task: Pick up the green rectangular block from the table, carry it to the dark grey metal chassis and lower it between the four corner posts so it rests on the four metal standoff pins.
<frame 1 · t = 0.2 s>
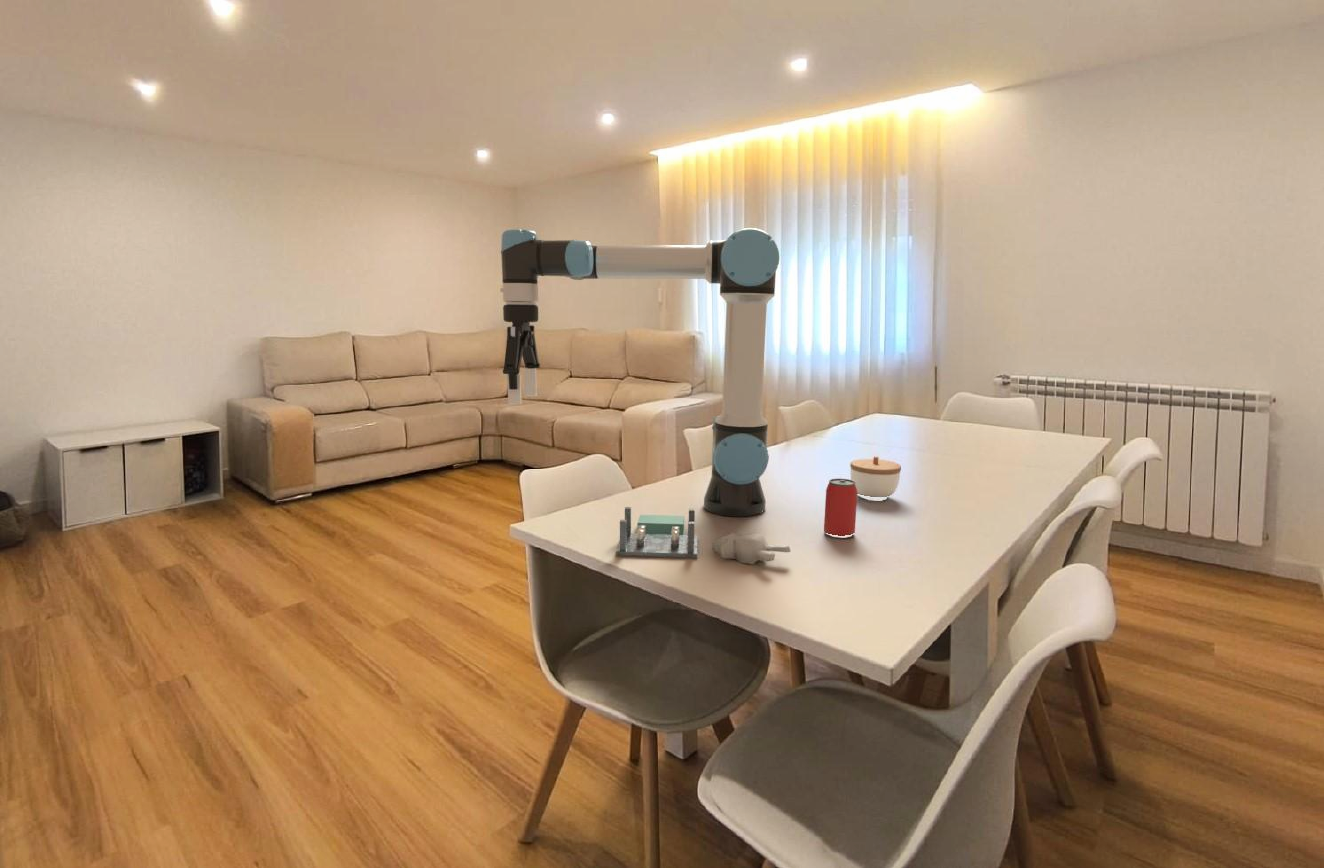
hand: (523, 400, 152), 28 cm above the table, tool pointing down, fingers open, 13 cm apart
green rectangular block: (661, 532, 150), on the table
bunny figurine: (747, 561, 133), on the table
beer can: (838, 535, 149), on the table
chassis: (658, 547, 139), on the table
lidded bowl: (873, 498, 178), on the table
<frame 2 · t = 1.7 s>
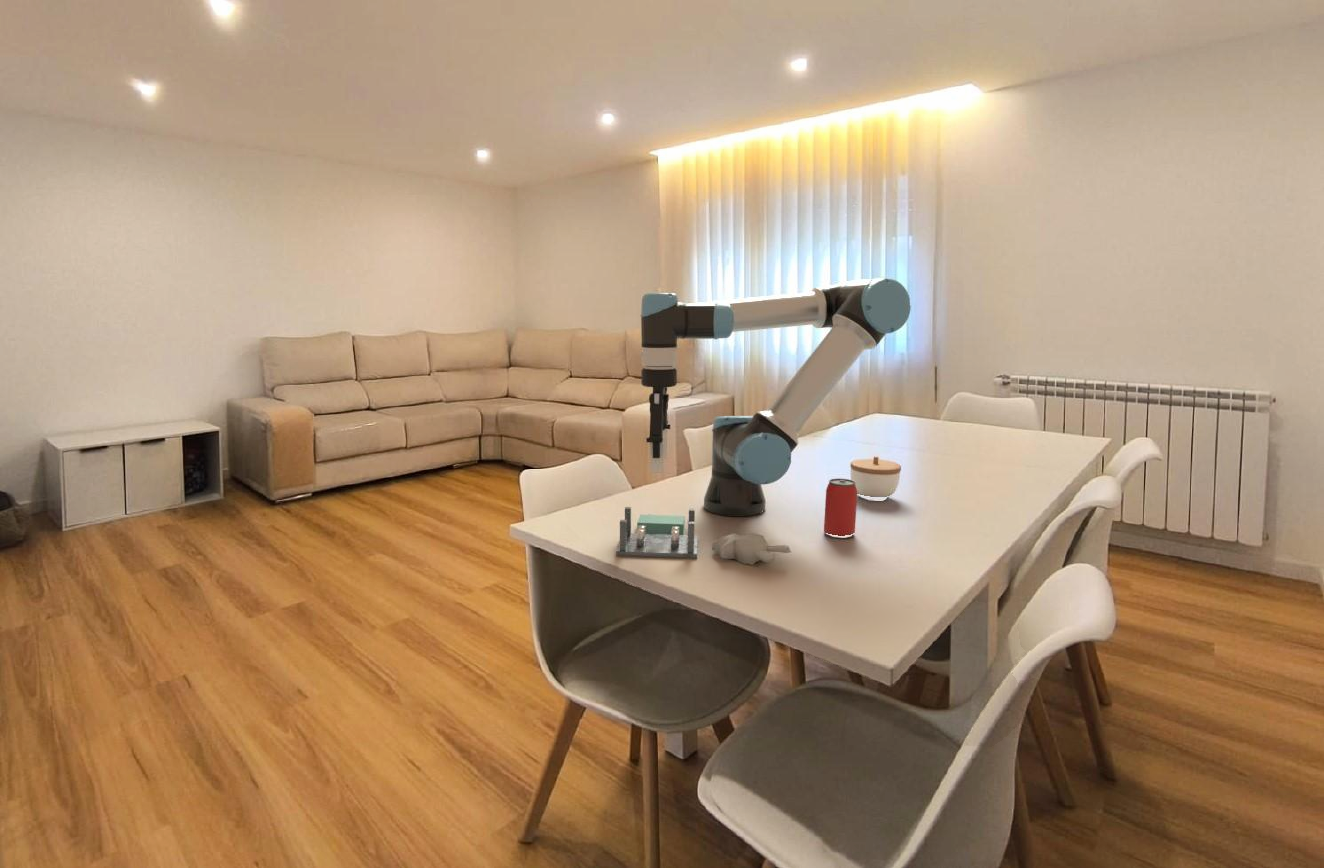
hand: (659, 465, 147), 15 cm above the table, tool pointing down, fingers open, 13 cm apart
nothing on the table moved.
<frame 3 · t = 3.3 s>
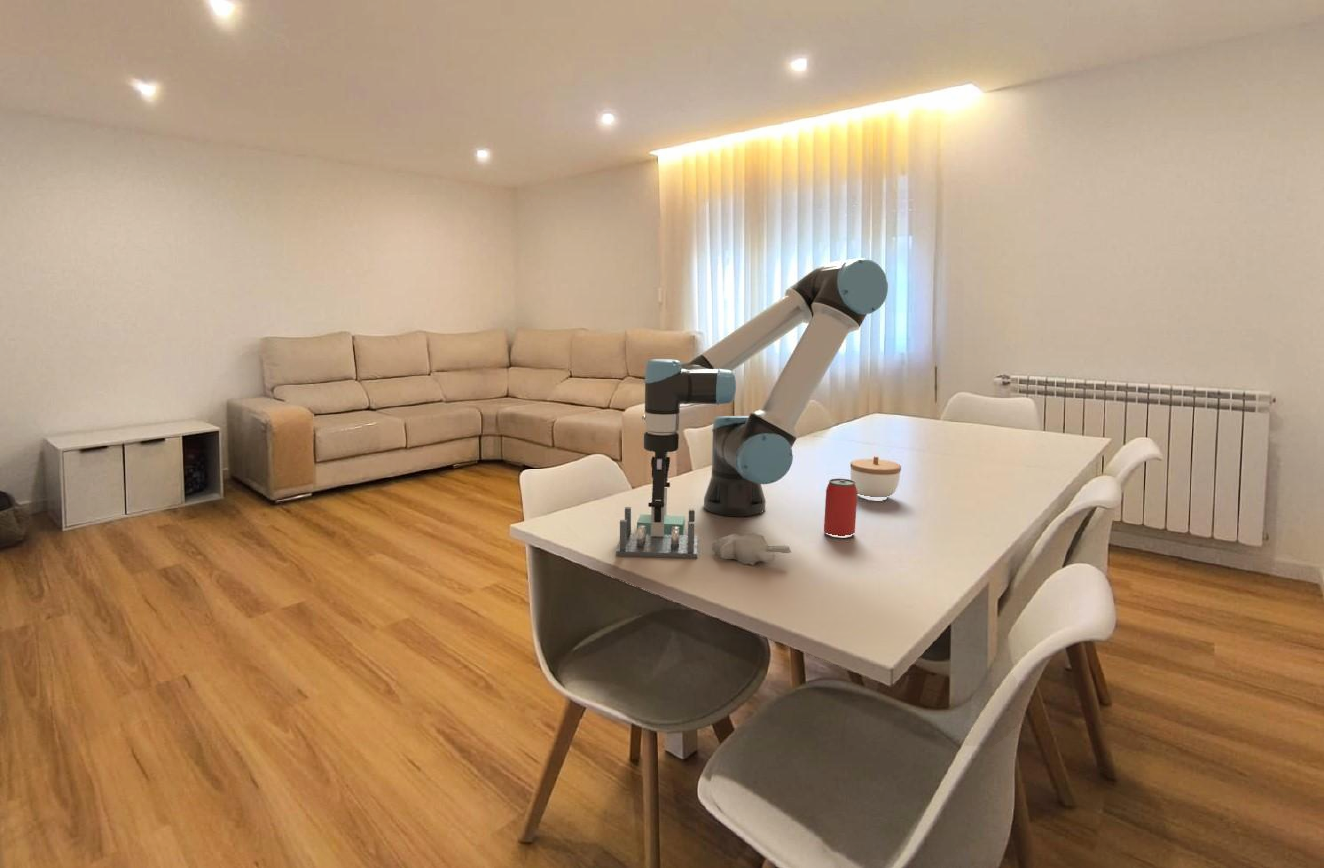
hand: (658, 526, 150), 1 cm above the table, tool pointing down, fingers open, 13 cm apart
nothing on the table moved.
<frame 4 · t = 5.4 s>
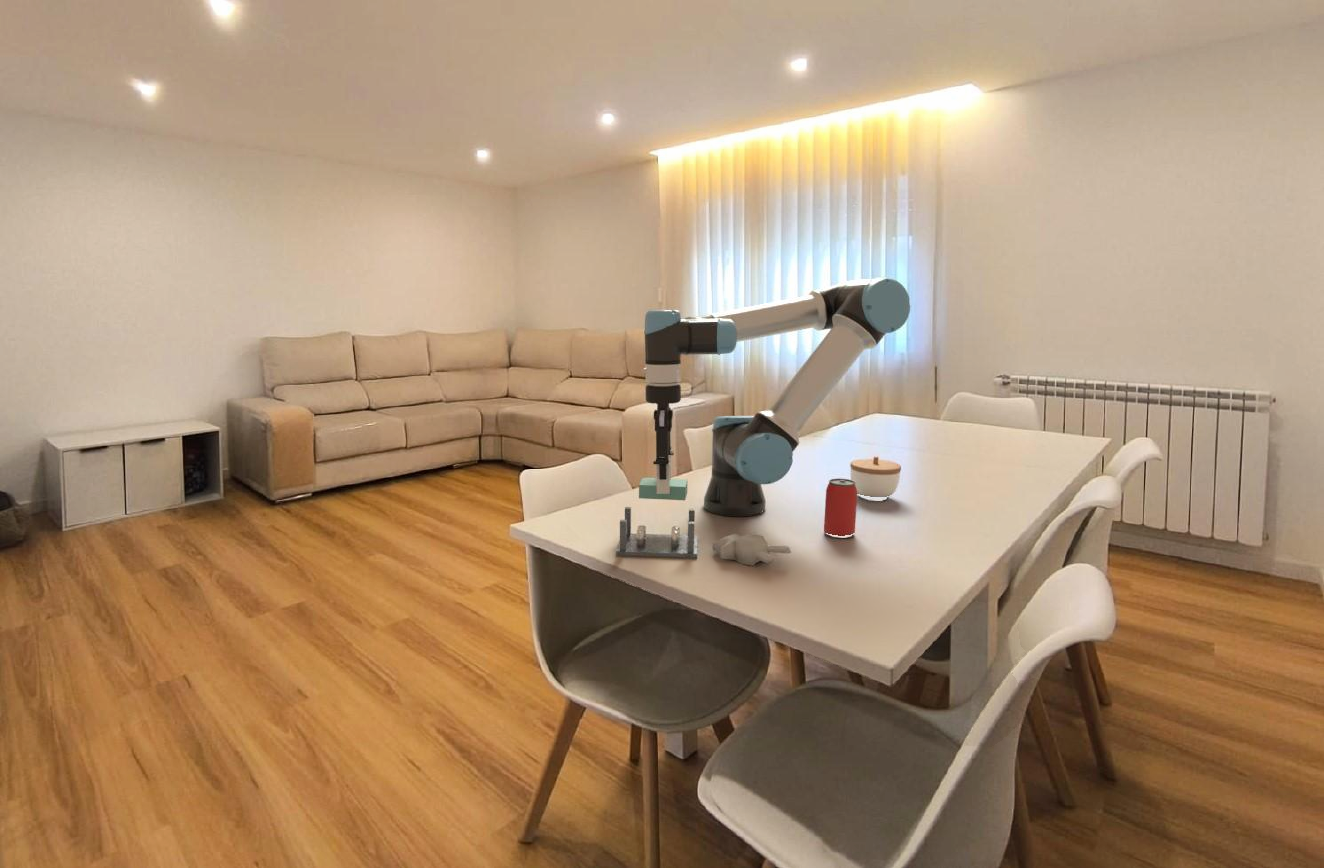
hand: (664, 488, 148), 9 cm above the table, tool pointing down, fingers closed on green rectangular block, 6 cm apart
green rectangular block: (663, 495, 149), point 8 cm above the table, touching gripper
everything else where it was.
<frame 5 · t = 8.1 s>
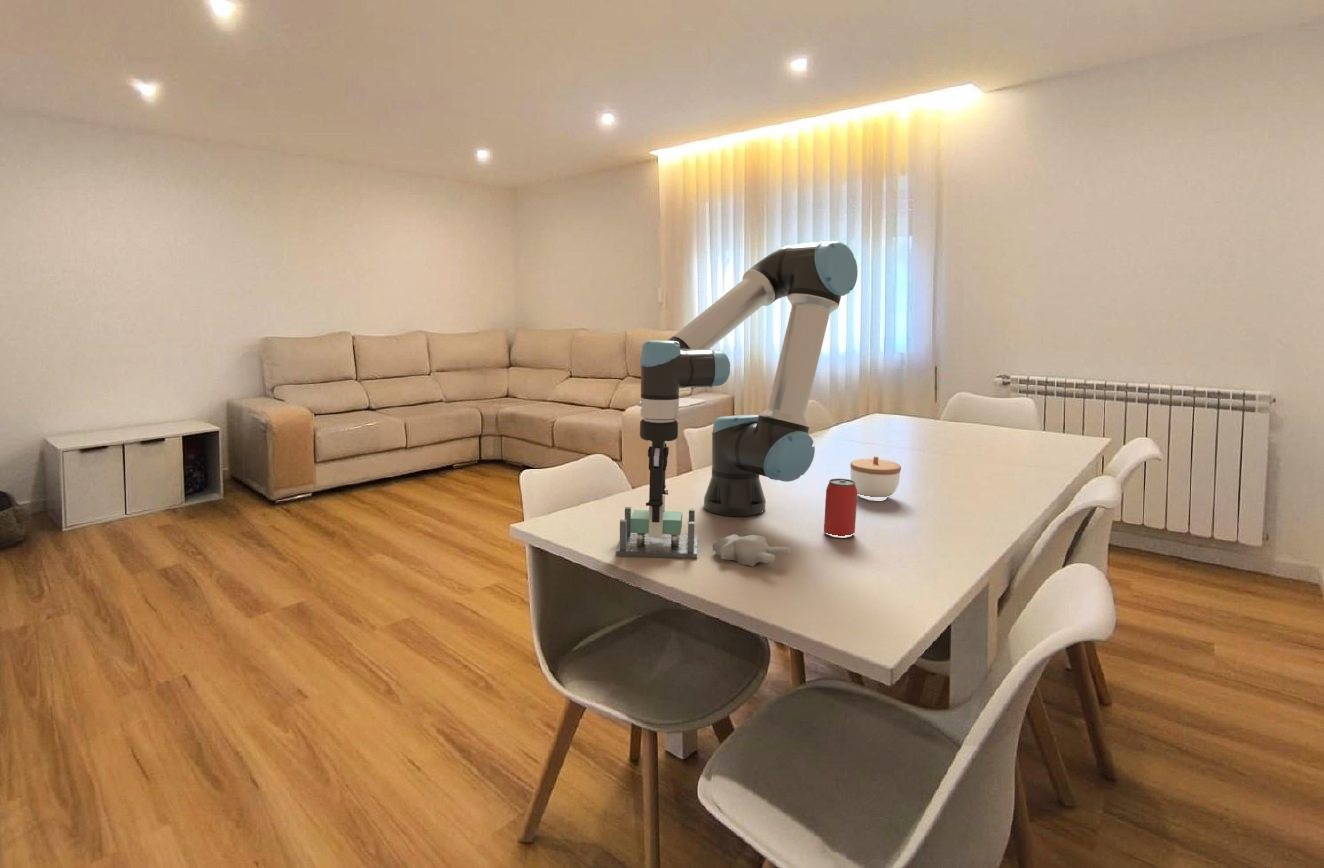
hand: (656, 530, 138), 4 cm above the table, tool pointing down, fingers closed on green rectangular block, 6 cm apart
green rectangular block: (656, 529, 138), point 4 cm above the table, touching chassis, gripper
everything else where it was.
when the fingers open (4 cm above the table, at t = 8.1 s): green rectangular block stays where it is, resting on chassis.
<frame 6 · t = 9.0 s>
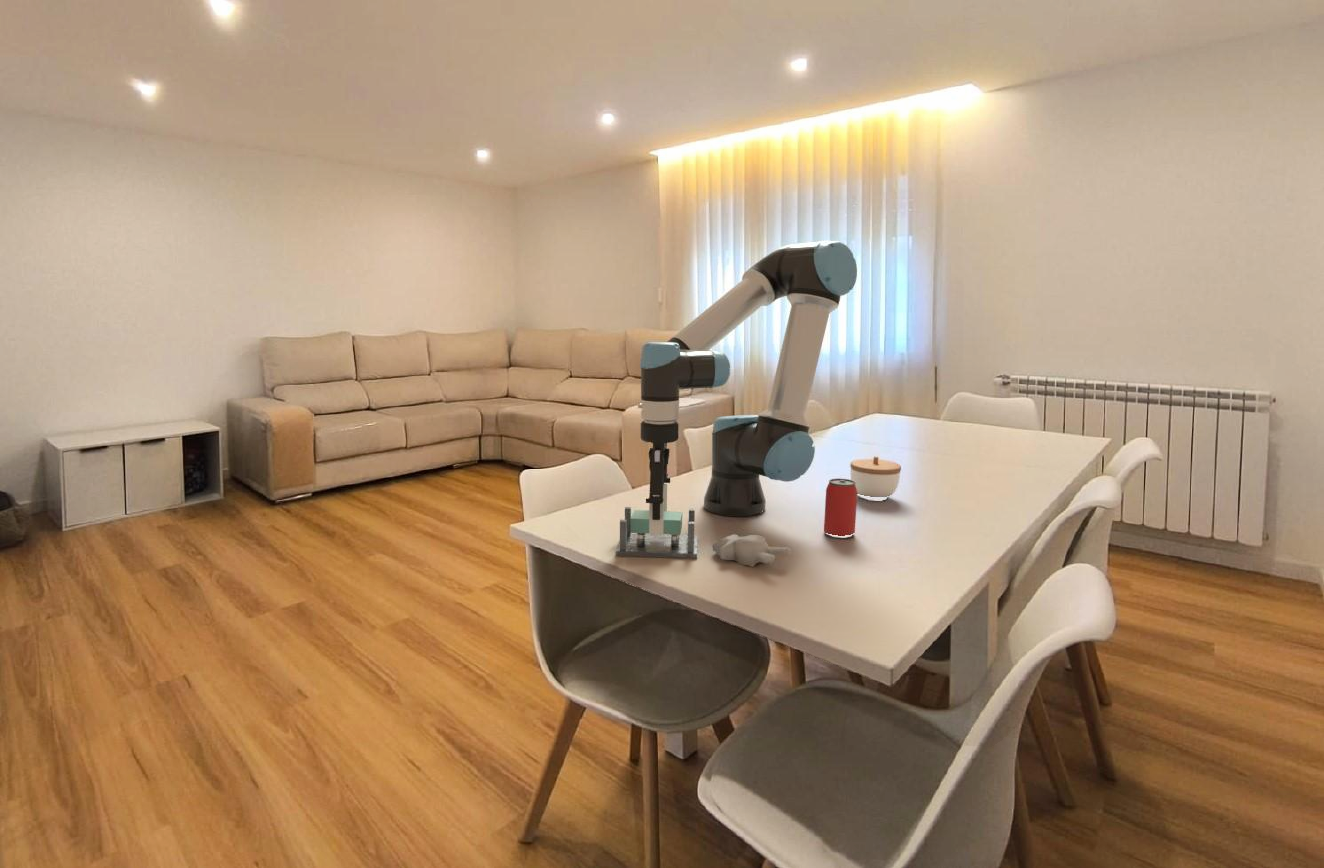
hand: (658, 523, 138), 5 cm above the table, tool pointing down, fingers open, 13 cm apart
green rectangular block: (656, 529, 138), point 4 cm above the table, touching chassis
everything else where it was.
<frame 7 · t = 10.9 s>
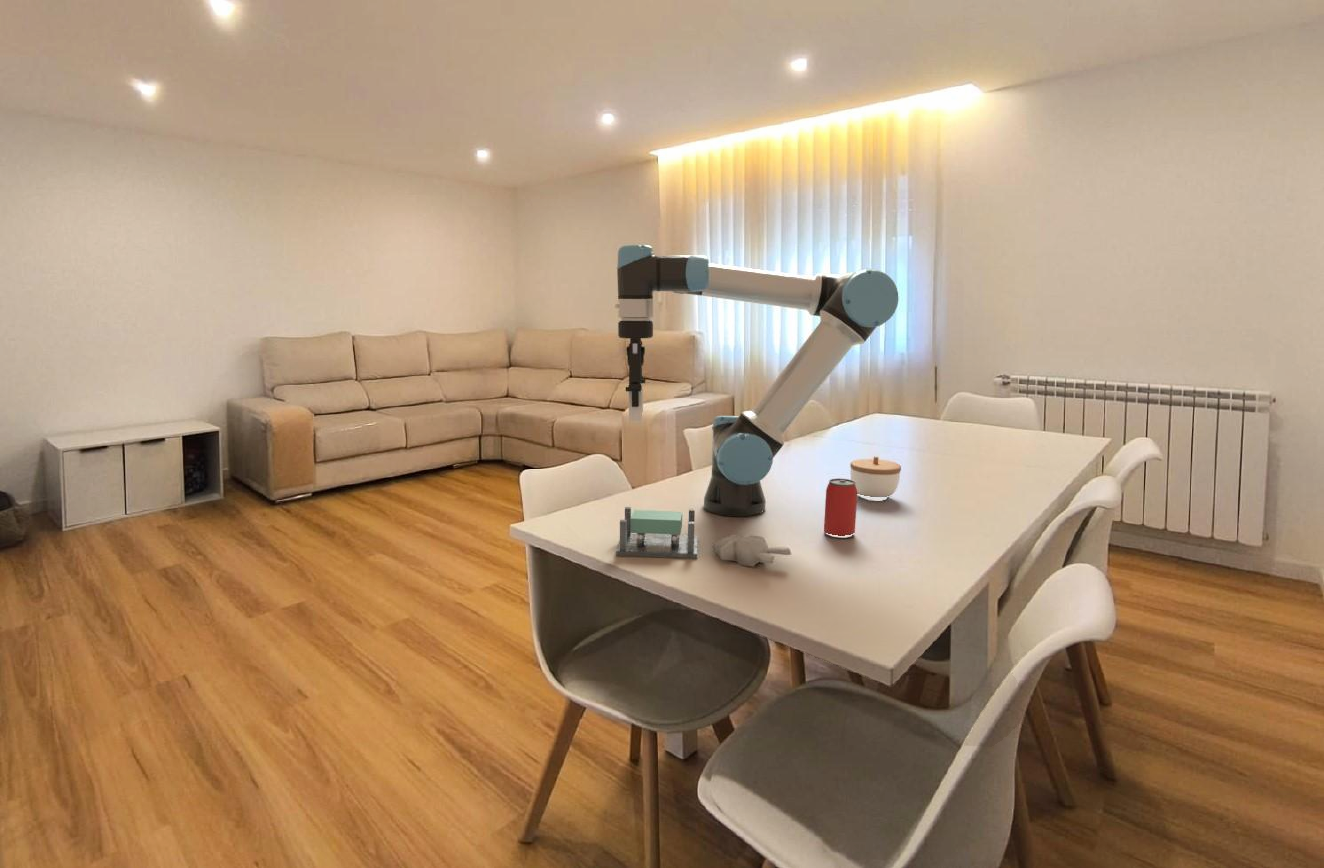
hand: (636, 417, 150), 25 cm above the table, tool pointing down, fingers open, 13 cm apart
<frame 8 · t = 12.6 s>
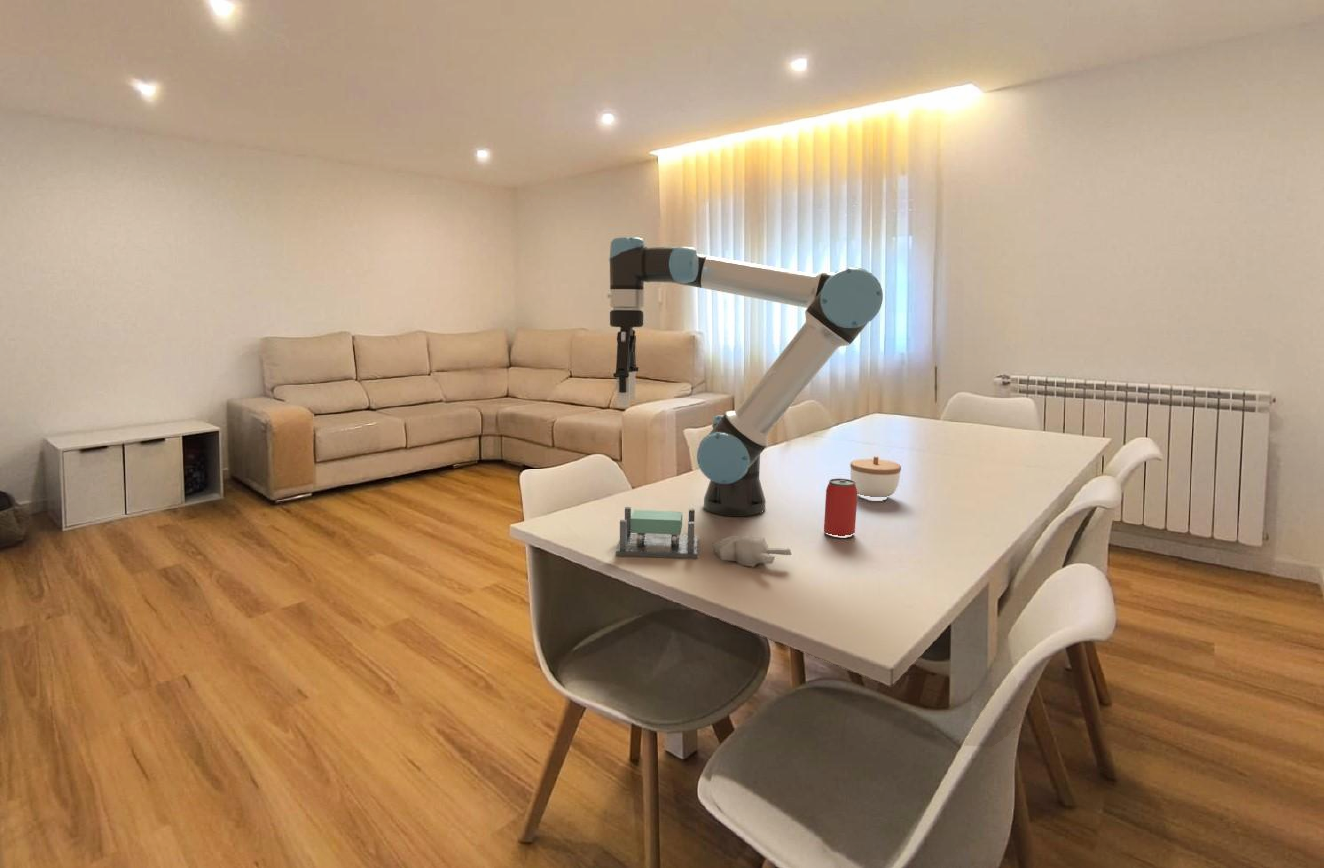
hand: (626, 403, 156), 27 cm above the table, tool pointing down, fingers open, 13 cm apart
at the end: green rectangular block 0.3 cm off-centre on the chassis, point 4.0 cm above the chassis's base; green rectangular block tilted 0°; the gripper is holding nothing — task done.
